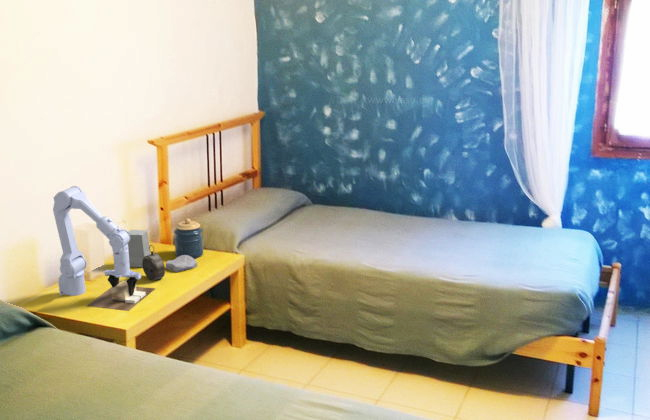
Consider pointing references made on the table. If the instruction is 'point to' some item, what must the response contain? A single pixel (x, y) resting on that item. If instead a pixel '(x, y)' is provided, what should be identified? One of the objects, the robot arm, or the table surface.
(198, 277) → the table surface
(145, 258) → the alarm clock
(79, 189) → the robot arm
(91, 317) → the table surface
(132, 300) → the paint flake
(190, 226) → the canister
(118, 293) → the block
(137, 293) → the paint flake
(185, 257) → the stone block
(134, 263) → the skincare box
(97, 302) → the walnut board
